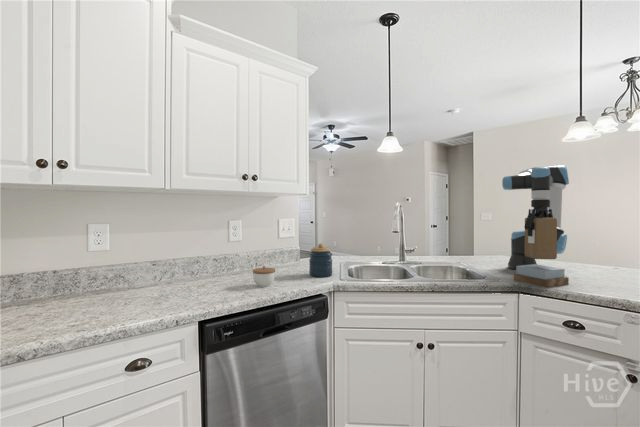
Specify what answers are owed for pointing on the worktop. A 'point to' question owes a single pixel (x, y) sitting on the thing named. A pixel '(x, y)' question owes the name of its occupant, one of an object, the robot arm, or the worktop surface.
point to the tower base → (542, 280)
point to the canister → (320, 261)
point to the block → (542, 239)
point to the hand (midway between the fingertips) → (540, 242)
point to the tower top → (540, 271)
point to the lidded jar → (263, 276)
